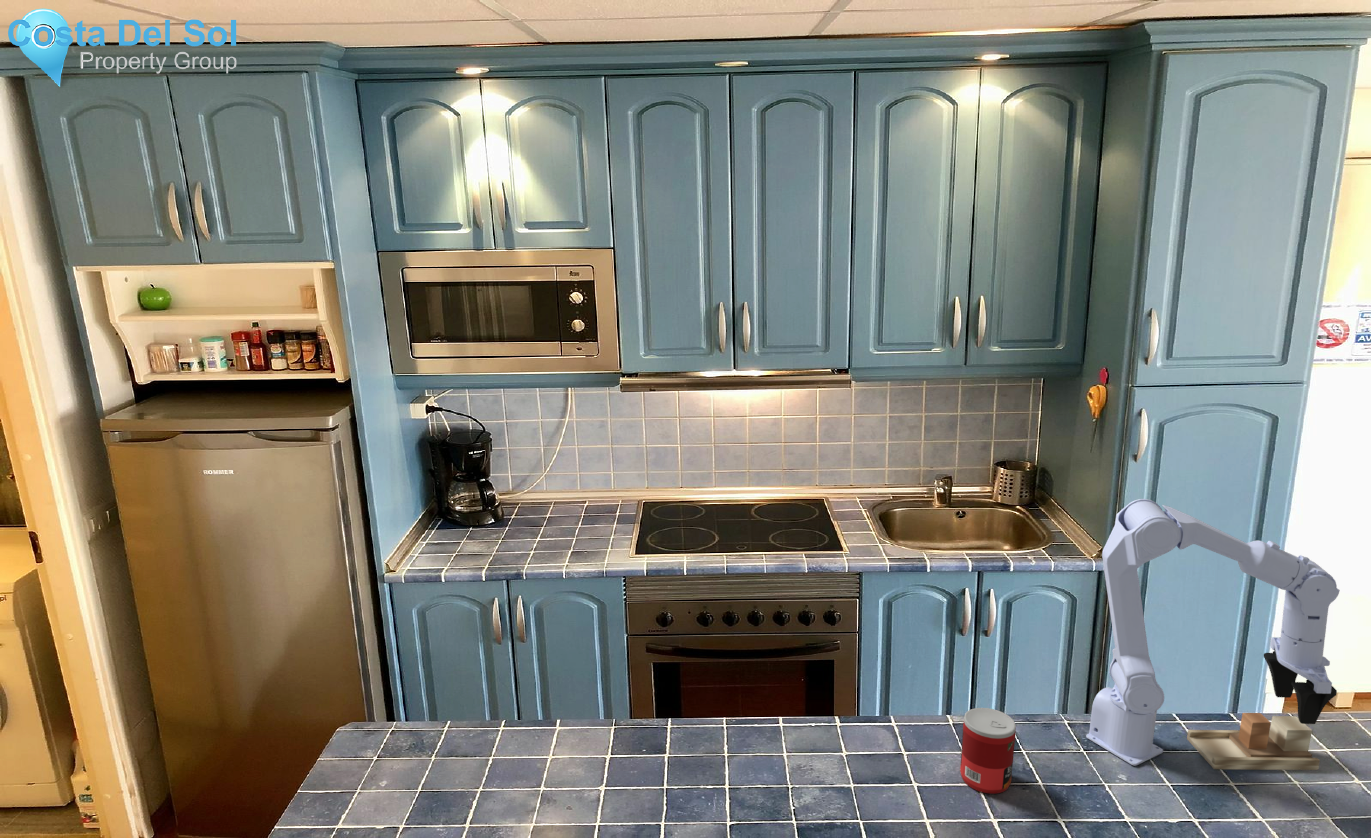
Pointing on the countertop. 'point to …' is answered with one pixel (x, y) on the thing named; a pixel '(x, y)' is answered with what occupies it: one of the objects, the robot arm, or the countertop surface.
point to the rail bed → (1240, 753)
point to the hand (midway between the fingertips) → (1294, 709)
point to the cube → (1290, 733)
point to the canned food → (987, 750)
